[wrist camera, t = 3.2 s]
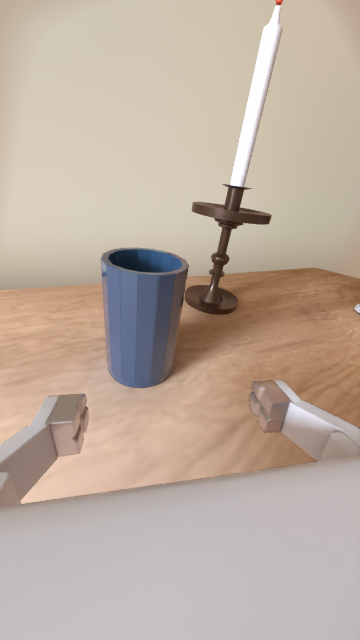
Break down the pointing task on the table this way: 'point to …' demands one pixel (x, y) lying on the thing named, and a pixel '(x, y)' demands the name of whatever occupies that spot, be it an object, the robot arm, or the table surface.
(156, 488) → the robot arm
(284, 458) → the table surface
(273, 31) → the candlestick
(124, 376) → the cup
